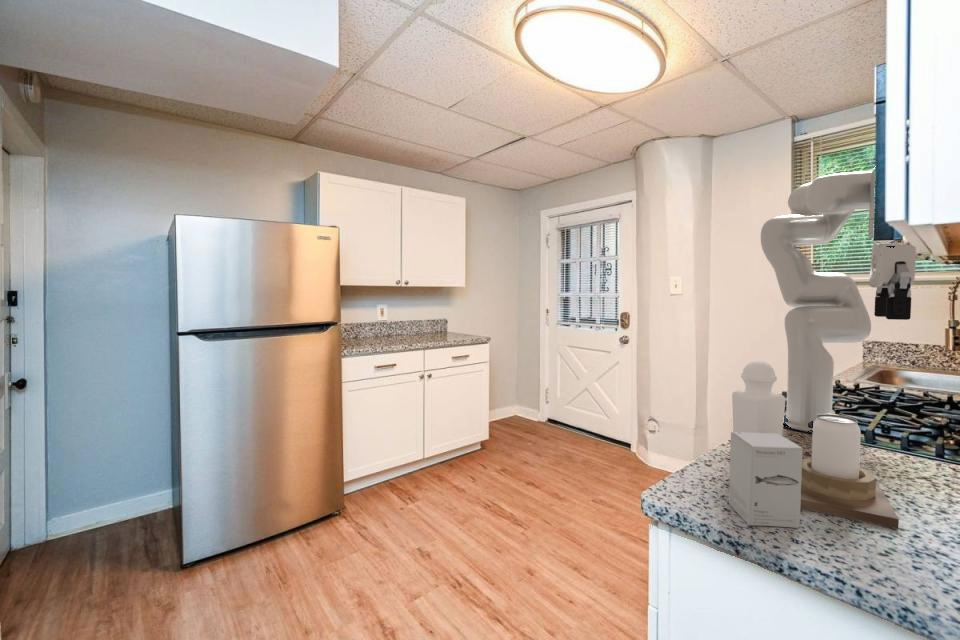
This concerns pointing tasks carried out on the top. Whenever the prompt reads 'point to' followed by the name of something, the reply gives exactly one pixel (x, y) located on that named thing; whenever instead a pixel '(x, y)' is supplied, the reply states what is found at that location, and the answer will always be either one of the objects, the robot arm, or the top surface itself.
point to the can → (836, 446)
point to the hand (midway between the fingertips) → (891, 317)
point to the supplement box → (765, 479)
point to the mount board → (846, 496)
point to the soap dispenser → (758, 401)
